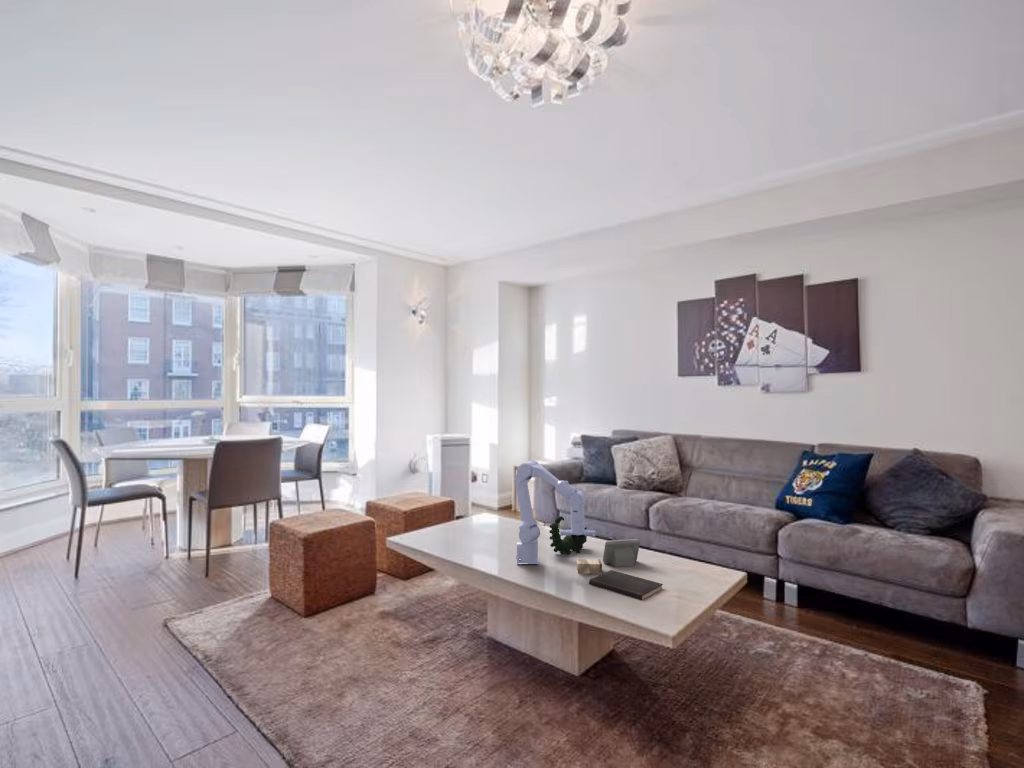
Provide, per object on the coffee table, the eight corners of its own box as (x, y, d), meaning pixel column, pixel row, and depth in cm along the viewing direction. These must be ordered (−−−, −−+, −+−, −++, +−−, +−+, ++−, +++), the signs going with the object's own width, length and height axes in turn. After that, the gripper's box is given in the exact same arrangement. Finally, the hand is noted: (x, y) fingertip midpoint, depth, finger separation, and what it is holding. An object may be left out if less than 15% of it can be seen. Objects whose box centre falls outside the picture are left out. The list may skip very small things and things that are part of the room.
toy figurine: (561, 562, 233) (595, 546, 250) (559, 521, 232) (593, 507, 249) (546, 558, 239) (579, 542, 257) (543, 517, 239) (577, 504, 256)
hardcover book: (611, 575, 213) (611, 569, 213) (663, 590, 197) (662, 583, 197) (588, 585, 201) (588, 579, 201) (641, 601, 186) (641, 595, 186)
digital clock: (637, 560, 231) (637, 536, 231) (642, 567, 222) (642, 542, 222) (601, 560, 231) (601, 536, 231) (604, 567, 222) (604, 542, 222)
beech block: (577, 563, 214) (602, 564, 214) (576, 559, 220) (600, 559, 220) (577, 573, 214) (602, 573, 213) (576, 568, 220) (600, 568, 219)
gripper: (560, 522, 214) (560, 555, 213) (596, 522, 213) (596, 556, 213) (559, 518, 221) (559, 550, 220) (594, 518, 220) (594, 550, 220)
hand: (577, 552), depth 217 cm, fingers closed
